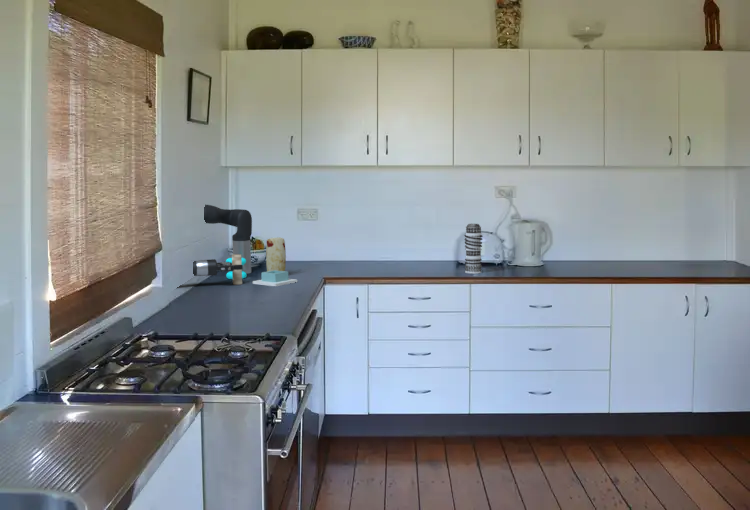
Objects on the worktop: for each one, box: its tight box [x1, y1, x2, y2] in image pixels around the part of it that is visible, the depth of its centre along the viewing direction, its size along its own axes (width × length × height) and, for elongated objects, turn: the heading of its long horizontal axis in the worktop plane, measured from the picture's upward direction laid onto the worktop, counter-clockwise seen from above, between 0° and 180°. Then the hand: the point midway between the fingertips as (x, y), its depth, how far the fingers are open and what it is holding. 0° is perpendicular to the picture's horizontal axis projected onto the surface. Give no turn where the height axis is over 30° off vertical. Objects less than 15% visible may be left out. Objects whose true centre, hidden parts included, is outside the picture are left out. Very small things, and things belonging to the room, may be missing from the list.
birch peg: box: [231, 253, 243, 286], centre depth 348 cm, size 4×4×14 cm
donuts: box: [225, 257, 247, 280], centre depth 367 cm, size 10×10×10 cm
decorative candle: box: [464, 223, 483, 274], centre depth 378 cm, size 9×9×25 cm
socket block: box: [252, 270, 298, 287], centre depth 351 cm, size 15×15×5 cm
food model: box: [265, 236, 287, 272], centre depth 370 cm, size 10×7×20 cm
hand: (240, 265), depth 349 cm, fingers open, 8 cm apart
